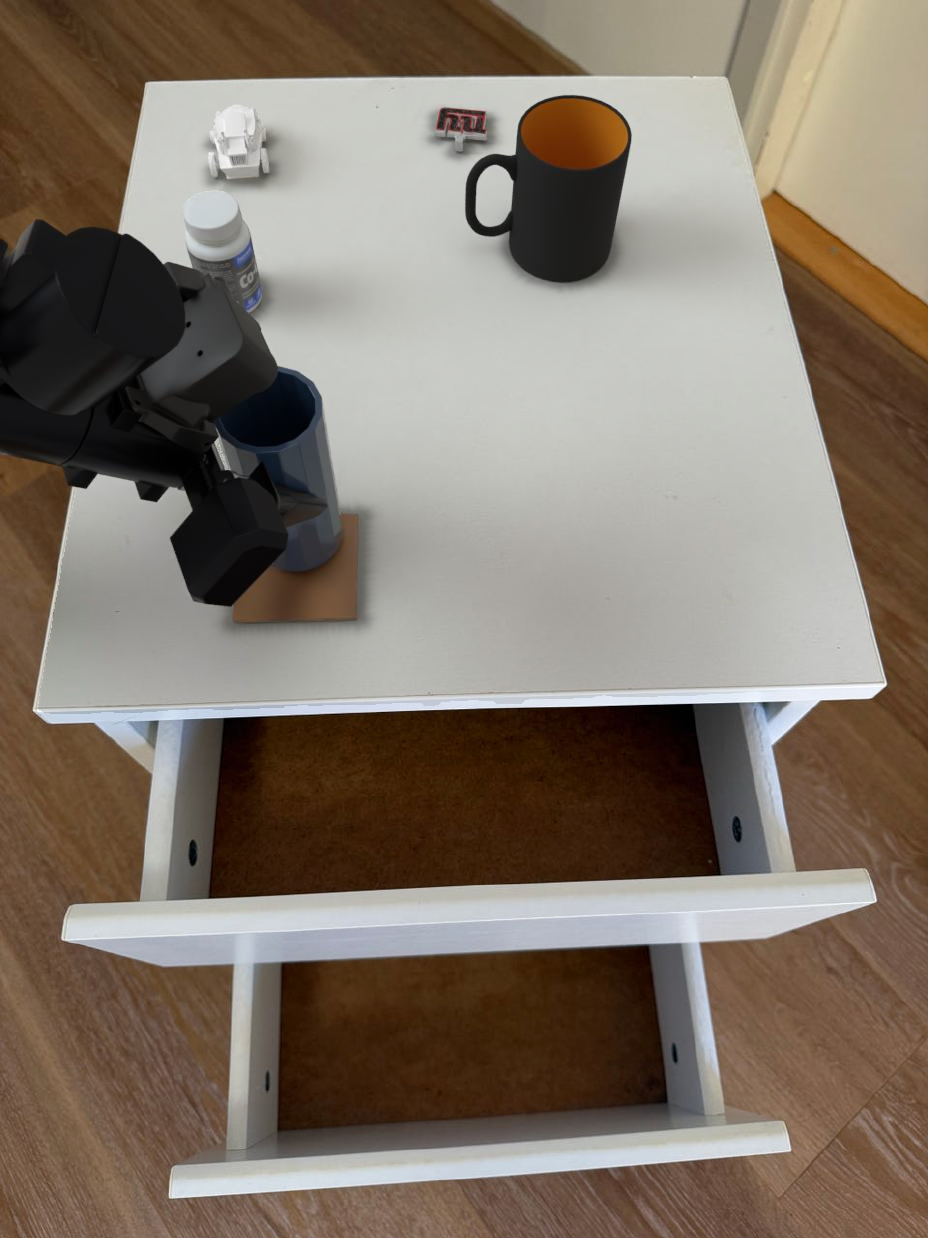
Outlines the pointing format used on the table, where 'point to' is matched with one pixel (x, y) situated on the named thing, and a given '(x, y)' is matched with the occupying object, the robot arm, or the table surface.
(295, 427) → the cup
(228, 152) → the toy car
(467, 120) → the pendant
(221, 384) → the robot arm
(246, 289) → the pill bottle
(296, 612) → the cork coaster
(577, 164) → the mug
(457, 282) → the table surface
